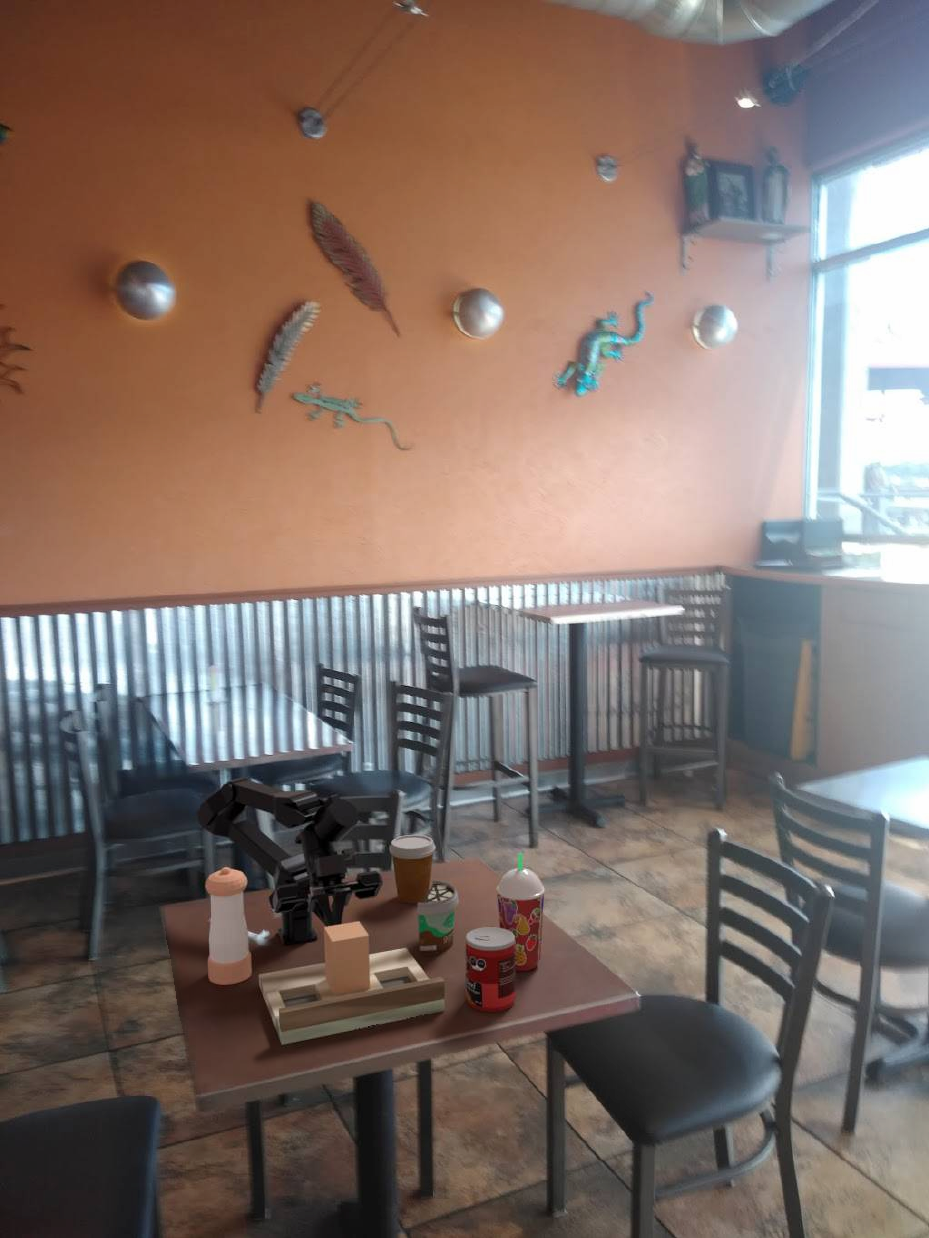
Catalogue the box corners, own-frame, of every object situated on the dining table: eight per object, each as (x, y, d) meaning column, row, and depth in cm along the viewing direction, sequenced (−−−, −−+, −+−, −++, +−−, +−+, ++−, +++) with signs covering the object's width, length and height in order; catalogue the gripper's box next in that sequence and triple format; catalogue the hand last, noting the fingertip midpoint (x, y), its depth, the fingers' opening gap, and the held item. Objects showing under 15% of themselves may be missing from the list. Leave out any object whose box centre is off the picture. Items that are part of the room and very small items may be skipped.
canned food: (464, 991, 162) (463, 927, 160) (512, 988, 162) (511, 925, 161) (468, 1014, 154) (467, 947, 153) (518, 1011, 155) (518, 945, 153)
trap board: (259, 985, 164) (258, 957, 164) (406, 958, 174) (405, 931, 173) (281, 1044, 146) (280, 1013, 145) (444, 1010, 155) (444, 980, 155)
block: (325, 979, 162) (323, 927, 161) (360, 972, 164) (359, 921, 163) (334, 995, 157) (332, 941, 156) (370, 988, 159) (368, 935, 158)
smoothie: (551, 958, 173) (551, 849, 171) (535, 978, 165) (534, 865, 163) (508, 950, 176) (507, 843, 174) (490, 969, 169) (488, 858, 167)
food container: (451, 960, 173) (450, 906, 172) (418, 957, 174) (416, 904, 173) (465, 931, 185) (464, 880, 184) (433, 929, 186) (433, 878, 185)
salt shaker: (238, 987, 164) (233, 877, 162) (200, 981, 166) (195, 873, 164) (259, 968, 171) (255, 862, 169) (222, 963, 173) (218, 858, 171)
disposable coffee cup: (418, 910, 195) (417, 852, 194) (380, 900, 200) (379, 844, 199) (445, 894, 203) (444, 838, 202) (408, 885, 208) (407, 831, 207)
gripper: (273, 841, 166) (289, 927, 157) (378, 826, 174) (399, 909, 165) (266, 870, 175) (281, 954, 166) (366, 855, 182) (386, 935, 173)
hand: (337, 937), depth 167 cm, fingers closed
